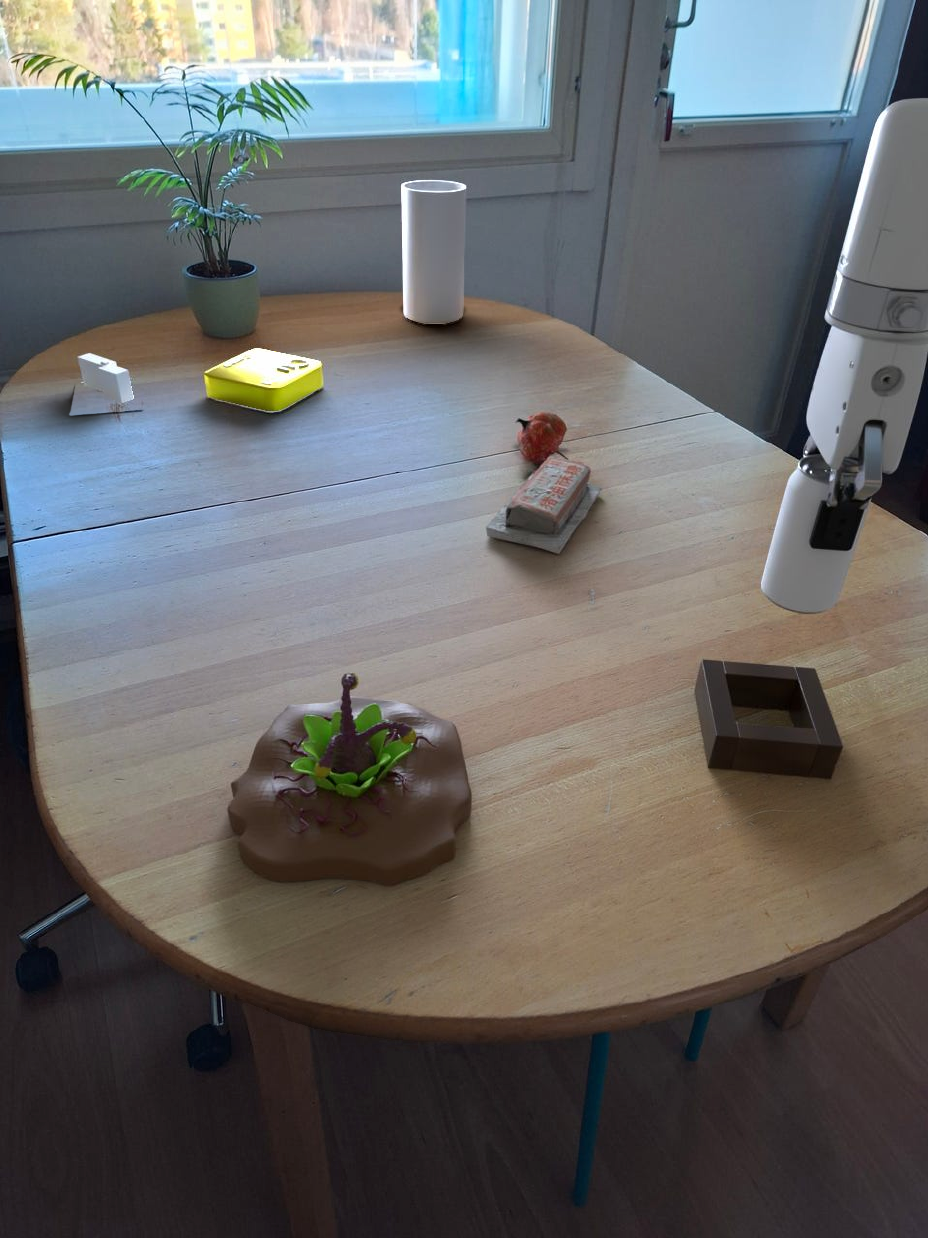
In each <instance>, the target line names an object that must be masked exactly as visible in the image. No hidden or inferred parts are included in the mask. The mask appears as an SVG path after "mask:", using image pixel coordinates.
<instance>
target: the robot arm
mask: <svg viewBox="0 0 928 1238" xmlns="http://www.w3.org/2000/svg"><path fill="white" fill-rule="evenodd" d="M864 161H865V162H864V165H863V167H862V172H861V176H860V180H859V184H858V188H857V191H856V195H855V199H854V203H853V207H852V211H851V214H850V219H849V222H848V226H847V229H846V234H845V238H844V241H843V245H842V248H841V252H840V257H839V260H838V264H837V269H836V270H835V276H834V278H833V283H832V286H831V291H830V294H829V298H828V301H827V306H826V310H825V314H824V320H825V321H826V323H827V324H829V325H830V326H831V327H830V330H829V332H828V335H827V336H828V337H827V339H826V342H825V346H824V348H823V351H822V354H821V357H820V361H819V364H818V368H817V370H816V374H815V377H814V381H813V384H812V389H811V392H810V397H809V401H808V405H807V410H806V418H805V419H806V426H807V429H808V431H809V433H810V434H809V435H808V439H807V440H806V442H805V444H804V447H803V453H802V456H803V457H802V458H804V457H806V456H809V455H816V454H821V455H822V456H823V458H824V460H825V461H826V463H827V464H828V465H829V466H830V467H831V473H830V480H829V487H828V494H827V501H824V500H821V503H820V506H819V509H818V513H817V516H816V520H815V523H814V526H813V530H812V533H811V536H810V540H809V544H810V546H811V548H813V549H824V550H838V551H849V550H851V549H852V546H853V543H854V540H855V537H856V534H857V531H858V528H859V525H860V522H861V519H862V516H863V513H864V510H865V509H867V507H868V504H869V500H870V499H871V500H872V498H873V497H874V495H875V494H876V493H878V491H880V489H881V488H882V484H883V474H886V475H892V474H893V473H894V472H896V470H897V469H898V468H899V465H900V462H901V459H902V456H903V452H904V449H905V445H906V443H907V439H908V436H909V431H910V429H911V424H912V422H913V418H914V415H915V411H916V407H917V404H918V400H919V396H920V392H921V387H922V384H923V380H924V375H925V374H924V373H925V369H926V364H927V358H928V97H921V98H920V97H918V98H907V99H906V98H905V99H901V100H898V101H895V102H892V103H891V104H889V105H888V106H887V107H886V108H885V109H884V110H883V111H882V112H881V113H880V115H878V118H877V120H876V122H875V125H874V128H873V131H872V134H871V137H870V142H869V146H868V149H867V153H866V157H865V160H864ZM844 457H846V458H851V459H852V458H856V459H857V460H858V461H857V462H858V466H855V465H844V464H843V459H844ZM843 473H852V474H857V477H856V478H855V479H854V482H853V483H847V484H846V485H845V486H843V487H842V488H841V481H842V475H843ZM840 488H841V489H840Z"/></svg>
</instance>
